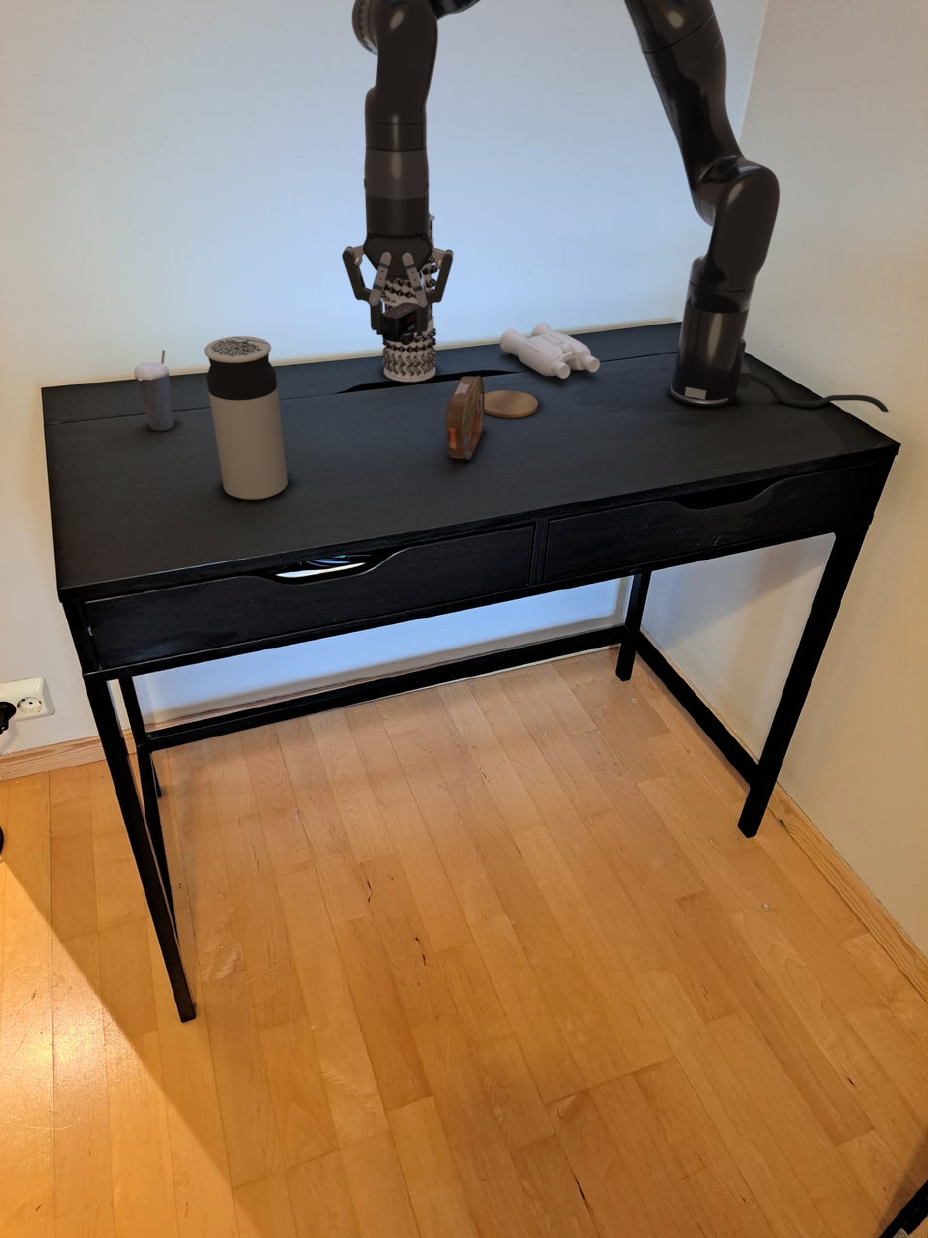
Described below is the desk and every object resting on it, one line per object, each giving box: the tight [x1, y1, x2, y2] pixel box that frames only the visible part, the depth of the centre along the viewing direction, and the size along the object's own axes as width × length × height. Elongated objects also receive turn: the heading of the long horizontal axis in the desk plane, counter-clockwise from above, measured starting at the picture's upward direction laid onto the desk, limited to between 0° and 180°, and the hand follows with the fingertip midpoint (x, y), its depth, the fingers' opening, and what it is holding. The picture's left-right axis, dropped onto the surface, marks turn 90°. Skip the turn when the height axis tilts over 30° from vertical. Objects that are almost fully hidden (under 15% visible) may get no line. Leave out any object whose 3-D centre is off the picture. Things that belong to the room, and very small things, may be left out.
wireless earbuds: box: [381, 302, 417, 345], centre depth 115 cm, size 5×7×3 cm, turn 152°
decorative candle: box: [381, 212, 439, 383], centre depth 138 cm, size 9×9×25 cm
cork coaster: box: [484, 389, 539, 419], centre depth 136 cm, size 9×9×1 cm
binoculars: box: [499, 322, 601, 380], centre depth 148 cm, size 10×16×5 cm, turn 30°
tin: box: [445, 375, 485, 461], centre depth 122 cm, size 15×3×8 cm, turn 168°
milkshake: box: [133, 350, 175, 432], centre depth 125 cm, size 4×5×10 cm
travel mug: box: [203, 335, 289, 500], centre depth 108 cm, size 8×8×18 cm
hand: (399, 332), depth 115 cm, fingers closed on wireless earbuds, 4 cm apart
